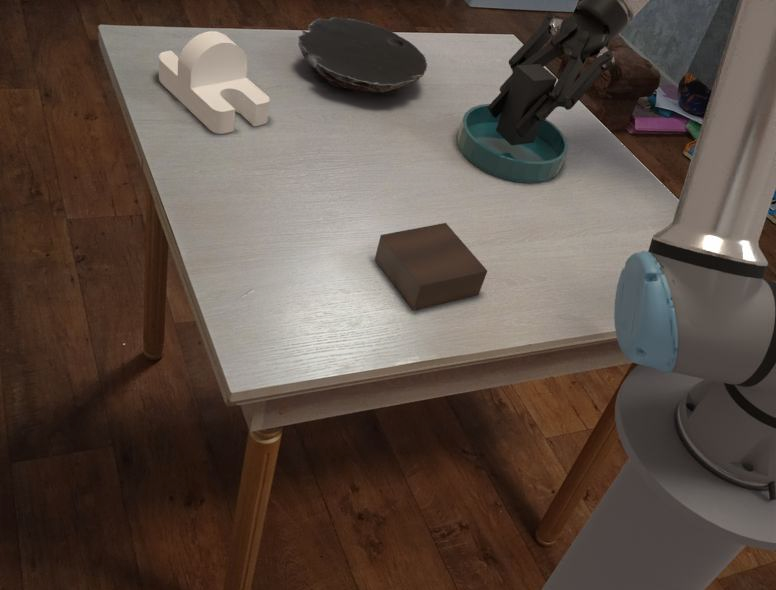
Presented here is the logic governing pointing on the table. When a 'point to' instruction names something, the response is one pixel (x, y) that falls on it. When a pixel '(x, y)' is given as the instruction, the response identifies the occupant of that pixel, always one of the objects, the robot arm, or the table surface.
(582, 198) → the table surface
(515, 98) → the pillar
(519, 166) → the tin
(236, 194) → the table surface
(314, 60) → the dark grey round slab
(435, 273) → the stand
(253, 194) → the table surface
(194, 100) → the slotted bracket
